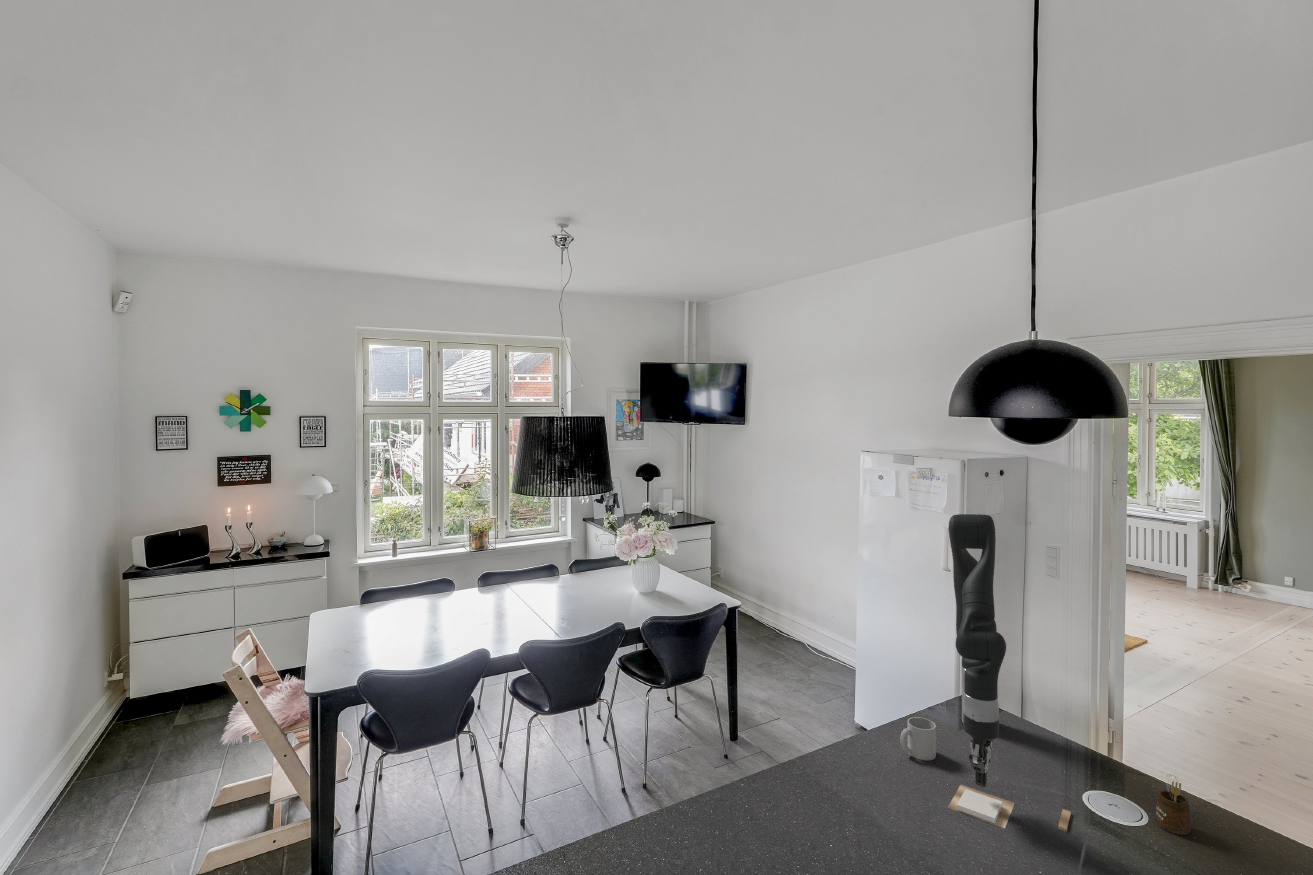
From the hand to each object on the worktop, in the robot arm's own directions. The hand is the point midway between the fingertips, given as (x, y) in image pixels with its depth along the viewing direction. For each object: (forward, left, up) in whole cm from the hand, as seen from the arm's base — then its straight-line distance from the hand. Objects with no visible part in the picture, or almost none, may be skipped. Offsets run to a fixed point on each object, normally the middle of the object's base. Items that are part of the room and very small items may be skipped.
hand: (981, 784), depth 144 cm
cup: (-13, -19, -6) cm, 24 cm away
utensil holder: (-18, +35, -5) cm, 40 cm away
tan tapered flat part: (-2, +16, -5) cm, 17 cm away
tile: (-2, 0, -4) cm, 4 cm away
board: (+1, 0, -5) cm, 5 cm away
